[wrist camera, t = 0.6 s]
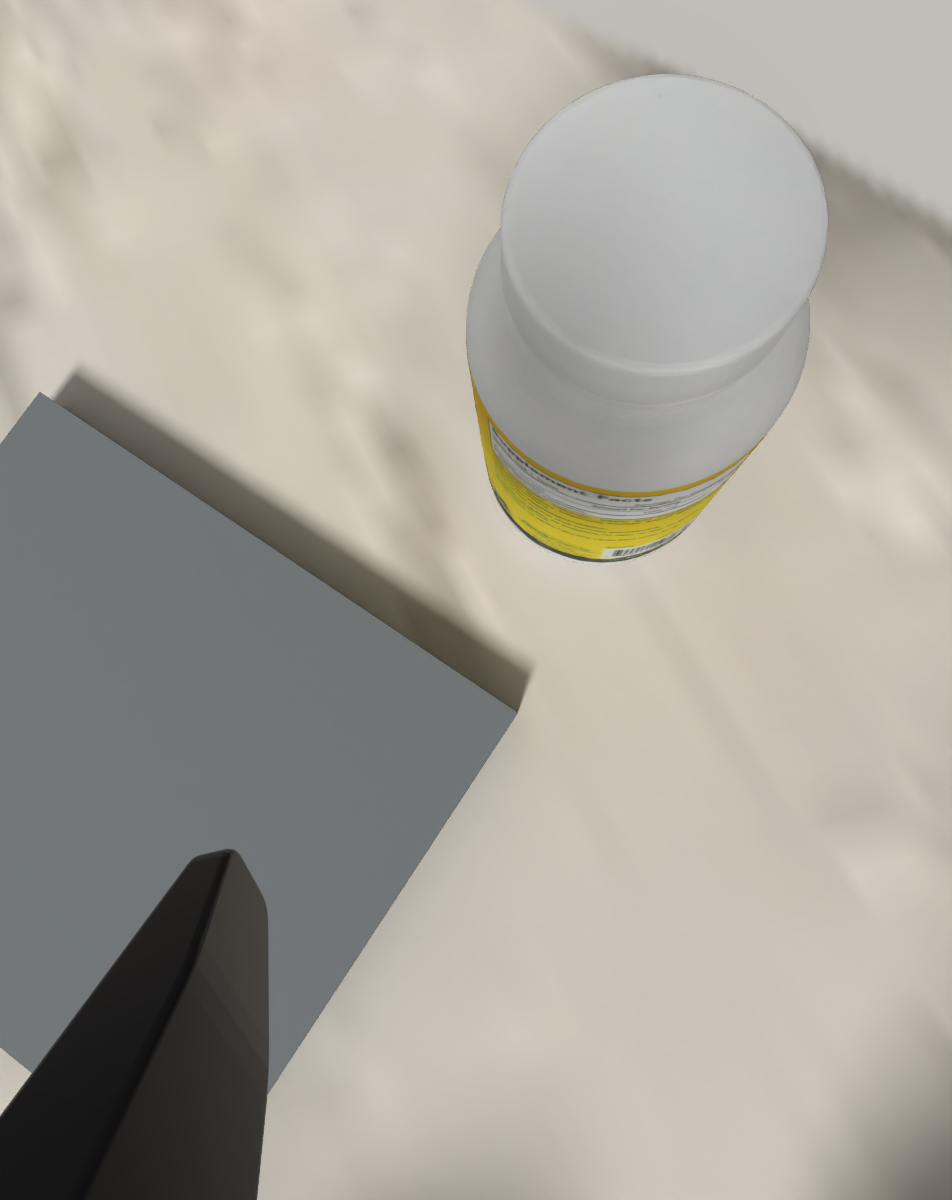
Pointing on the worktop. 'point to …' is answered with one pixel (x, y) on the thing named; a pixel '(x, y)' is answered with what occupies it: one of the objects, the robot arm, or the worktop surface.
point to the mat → (196, 734)
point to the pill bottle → (641, 311)
